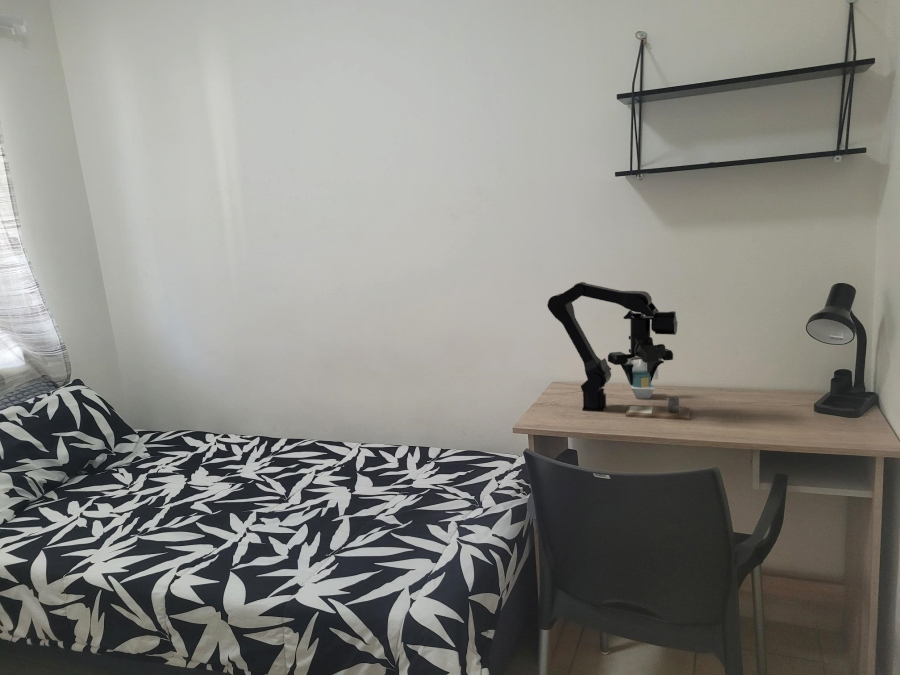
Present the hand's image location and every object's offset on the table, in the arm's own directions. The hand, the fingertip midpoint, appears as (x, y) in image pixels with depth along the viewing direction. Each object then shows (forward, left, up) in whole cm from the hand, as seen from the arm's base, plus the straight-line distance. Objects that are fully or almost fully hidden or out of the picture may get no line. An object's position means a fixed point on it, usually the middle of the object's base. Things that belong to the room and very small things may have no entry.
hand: (640, 383), depth 189 cm
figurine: (0, +18, -9) cm, 20 cm away
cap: (0, 0, 0) cm, 0 cm away
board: (+5, 0, -9) cm, 10 cm away
